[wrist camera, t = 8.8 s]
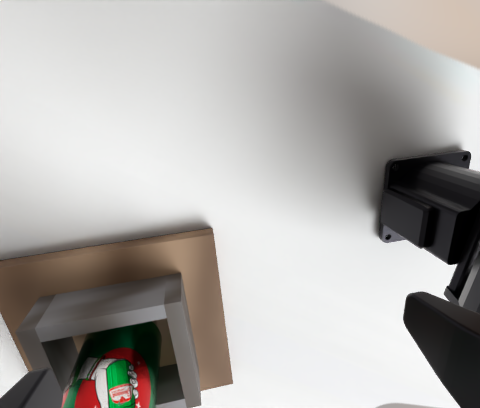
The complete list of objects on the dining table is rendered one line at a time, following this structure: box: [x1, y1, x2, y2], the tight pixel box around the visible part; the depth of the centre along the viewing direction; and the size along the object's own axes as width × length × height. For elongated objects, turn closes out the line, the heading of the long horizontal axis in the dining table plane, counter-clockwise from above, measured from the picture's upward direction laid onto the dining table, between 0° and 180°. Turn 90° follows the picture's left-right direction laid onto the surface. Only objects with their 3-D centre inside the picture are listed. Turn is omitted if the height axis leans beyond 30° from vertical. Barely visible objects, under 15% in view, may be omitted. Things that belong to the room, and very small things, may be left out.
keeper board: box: [0, 228, 233, 408], centre depth 20 cm, size 14×14×4 cm
